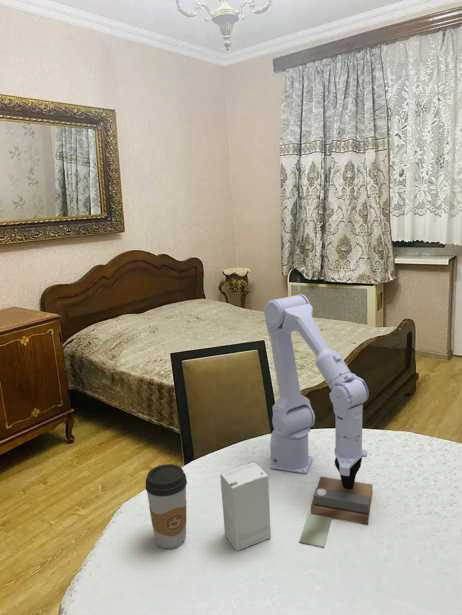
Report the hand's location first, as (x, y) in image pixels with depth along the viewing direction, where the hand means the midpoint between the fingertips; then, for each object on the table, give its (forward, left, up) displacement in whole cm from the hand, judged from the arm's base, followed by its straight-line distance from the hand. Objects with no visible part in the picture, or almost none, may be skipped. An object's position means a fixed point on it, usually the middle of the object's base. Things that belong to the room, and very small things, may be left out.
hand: (348, 487), depth 111 cm
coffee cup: (-33, -24, -3) cm, 41 cm away
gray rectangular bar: (-1, -6, -1) cm, 6 cm away
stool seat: (-1, -7, -3) cm, 7 cm away
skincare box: (-18, -19, -3) cm, 26 cm away
